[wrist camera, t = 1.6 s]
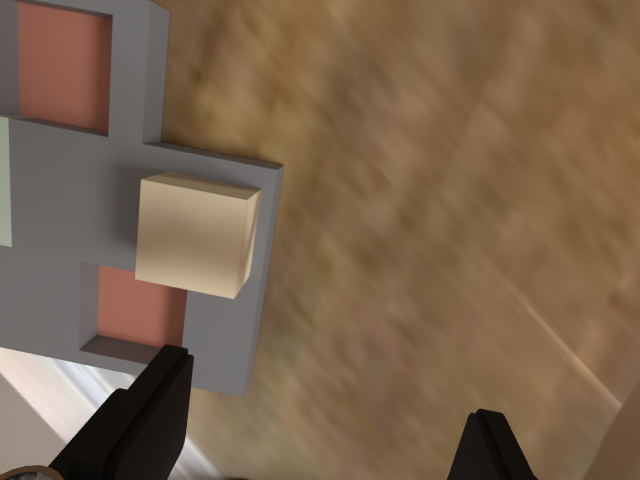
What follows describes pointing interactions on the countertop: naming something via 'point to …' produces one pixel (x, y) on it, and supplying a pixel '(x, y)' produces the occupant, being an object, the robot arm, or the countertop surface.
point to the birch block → (196, 233)
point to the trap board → (107, 197)
